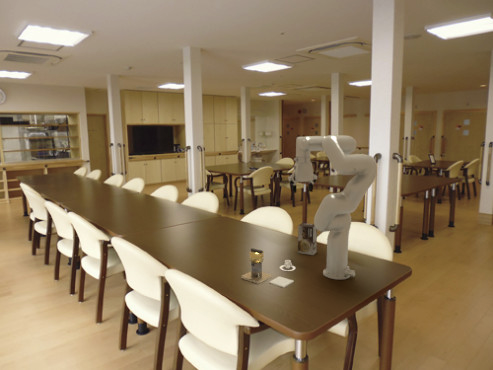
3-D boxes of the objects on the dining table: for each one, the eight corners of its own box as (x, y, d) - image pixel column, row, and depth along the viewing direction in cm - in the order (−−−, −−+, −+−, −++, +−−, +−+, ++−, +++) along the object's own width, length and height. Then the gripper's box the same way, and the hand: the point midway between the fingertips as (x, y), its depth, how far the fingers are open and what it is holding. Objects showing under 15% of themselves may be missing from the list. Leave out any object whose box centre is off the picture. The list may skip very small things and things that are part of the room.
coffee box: (316, 252, 199) (317, 224, 196) (312, 255, 193) (313, 227, 191) (301, 249, 203) (302, 222, 201) (297, 252, 198) (297, 225, 196)
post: (271, 277, 164) (271, 259, 163) (258, 284, 156) (258, 265, 155) (254, 271, 170) (254, 255, 169) (241, 278, 163) (241, 260, 162)
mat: (293, 282, 159) (293, 280, 158) (283, 287, 152) (283, 286, 152) (279, 277, 164) (279, 276, 164) (269, 283, 158) (269, 281, 158)
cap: (266, 259, 163) (266, 249, 162) (257, 263, 158) (257, 253, 157) (255, 256, 167) (255, 246, 166) (246, 260, 162) (246, 250, 161)
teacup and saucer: (286, 264, 182) (286, 256, 181) (299, 267, 177) (299, 260, 176) (276, 269, 175) (276, 261, 174) (290, 273, 170) (290, 265, 169)
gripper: (291, 161, 180) (291, 194, 182) (321, 160, 186) (320, 192, 188) (285, 160, 187) (284, 191, 189) (313, 159, 193) (313, 190, 195)
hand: (302, 192), depth 189 cm, fingers open, 9 cm apart
